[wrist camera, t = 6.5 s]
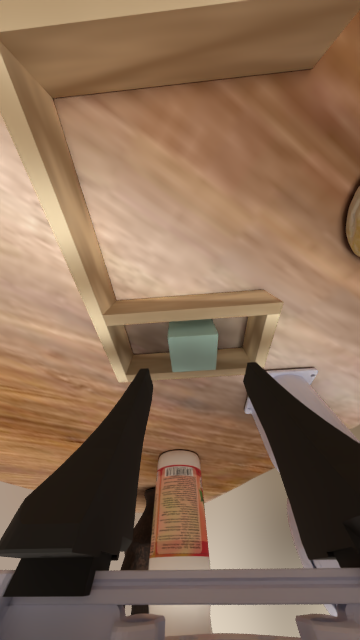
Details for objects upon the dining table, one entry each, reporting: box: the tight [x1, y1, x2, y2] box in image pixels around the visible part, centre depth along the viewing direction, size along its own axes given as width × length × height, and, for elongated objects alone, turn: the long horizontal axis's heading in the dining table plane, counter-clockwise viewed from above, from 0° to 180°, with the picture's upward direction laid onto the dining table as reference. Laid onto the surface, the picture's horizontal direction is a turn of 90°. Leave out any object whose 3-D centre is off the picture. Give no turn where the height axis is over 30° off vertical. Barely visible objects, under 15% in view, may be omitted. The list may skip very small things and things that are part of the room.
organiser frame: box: [0, 0, 360, 382], centre depth 11 cm, size 21×15×3 cm
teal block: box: [168, 319, 218, 372], centre depth 14 cm, size 4×4×4 cm
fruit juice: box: [148, 450, 213, 637], centre depth 21 cm, size 9×9×28 cm
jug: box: [120, 489, 156, 615], centre depth 34 cm, size 21×18×30 cm
